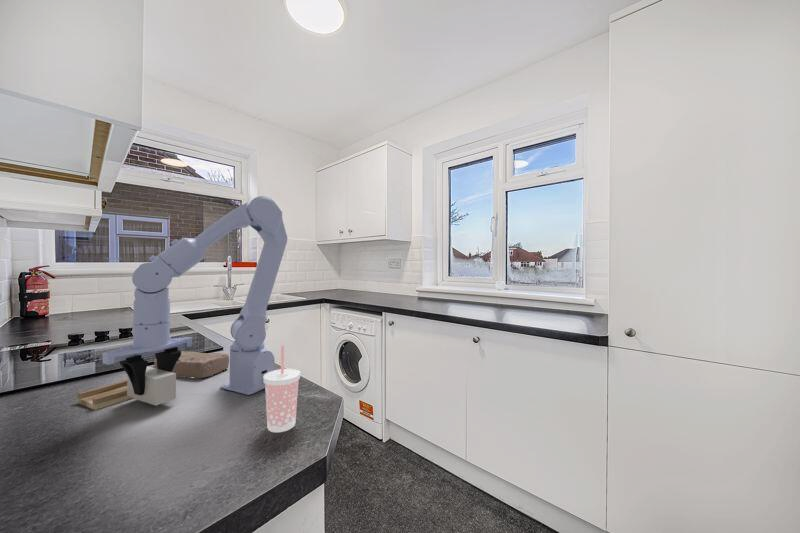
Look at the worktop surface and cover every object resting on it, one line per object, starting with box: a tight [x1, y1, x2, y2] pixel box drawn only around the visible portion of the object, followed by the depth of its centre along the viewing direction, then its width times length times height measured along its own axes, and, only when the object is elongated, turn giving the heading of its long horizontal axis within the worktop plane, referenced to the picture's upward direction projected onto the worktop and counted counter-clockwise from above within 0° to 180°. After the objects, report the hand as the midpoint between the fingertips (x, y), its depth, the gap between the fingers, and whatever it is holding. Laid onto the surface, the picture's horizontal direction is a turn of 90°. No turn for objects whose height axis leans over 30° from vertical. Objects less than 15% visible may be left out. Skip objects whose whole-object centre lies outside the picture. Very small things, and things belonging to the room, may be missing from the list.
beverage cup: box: [263, 344, 301, 433], centre depth 53 cm, size 6×6×14 cm
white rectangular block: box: [126, 365, 177, 406], centre depth 61 cm, size 10×4×5 cm, turn 66°
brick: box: [152, 350, 230, 379], centre depth 80 cm, size 17×8×5 cm, turn 77°
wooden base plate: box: [77, 379, 133, 411], centre depth 64 cm, size 7×11×2 cm, turn 156°
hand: (151, 390), depth 61 cm, fingers closed on white rectangular block, 3 cm apart
